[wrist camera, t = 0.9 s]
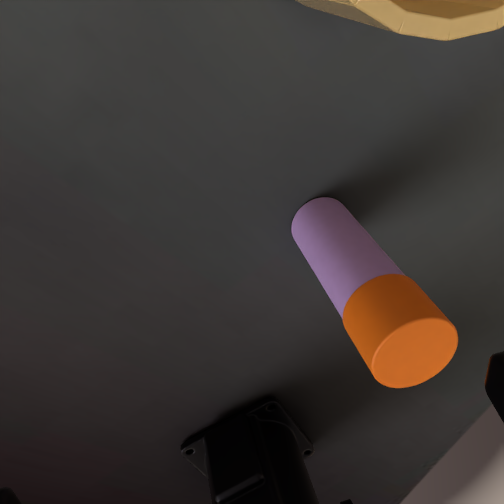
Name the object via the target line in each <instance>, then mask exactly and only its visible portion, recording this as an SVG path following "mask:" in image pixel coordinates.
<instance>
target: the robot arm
mask: <svg viewBox="0 0 504 504" xmlns="http://www.w3.org/2000/svg"><path fill="white" fill-rule="evenodd" d="M485 389H486V392H487V395H488V397H489V399H490V400H491V402H492V404H493V405H494V407H495V409H496V411H497V412H498V414H499V416H500V417H501V419H502V421H503V422H504V351H503V352H499V353H496V354H493V355H492V356H491V357H490V359H489V364H488V369H487V374H486V379H485ZM314 451H315V450H314V447H313V445H312V443H311V442H310V440H309V439H308V438H307V437H306V435H305V434H304V433H303V431H302V430H301V429H300V428H299V426H298V425H297V424H296V422H295V421H294V420H293V418H292V417H291V416H290V415H289V413H288V412H287V411H286V409H285V408H284V407H283V406H282V404H281V403H280V402H279V400H278V399H277V398H276V397H267V398H265V399H263V400H261V401H260V402H258V403H256V404H254V405H252V406H250V407H248V408H247V409H245V410H243V411H241V412H239V413H237V414H236V415H234V416H232V417H230V418H228V419H226V420H225V421H223V422H221V423H219V424H217V425H215V426H213V427H212V428H210V429H208V430H206V431H204V432H202V433H201V434H199V435H197V436H195V437H193V438H191V439H189V440H188V441H186V442H184V443H183V444H182V445H181V454H182V456H183V457H184V458H185V459H187V460H188V461H189V462H190V463H191V464H192V465H193V466H194V467H196V468H197V469H198V470H199V471H200V472H201V473H202V474H203V475H204V476H206V477H207V478H208V481H209V487H210V493H211V499H212V504H319V502H318V499H317V496H316V494H315V491H314V488H313V485H312V483H311V480H310V477H309V474H308V471H307V469H306V466H305V463H304V459H306V458H308V457H310V456H311V455H313V453H314ZM0 504H21V502H20V501H19V499H18V498H17V496H16V495H15V493H14V492H13V490H12V489H11V488H8V487H4V488H0ZM340 504H353V503H352V501H351V500H350V499H348V500H345V501H342V502H340Z"/></svg>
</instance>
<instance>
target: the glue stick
mask: <svg viewBox="0 0 504 504" xmlns="http://www.w3.org/2000/svg"><path fill="white" fill-rule="evenodd" d="M291 230H292V235H293V238H294V240H295V242H296V243H297V245H298V246H299V248H300V250H301V251H302V253H303V255H304V256H305V258H306V260H307V261H308V263H309V265H310V266H311V268H312V270H313V271H314V273H315V274H316V276H317V278H318V279H319V281H320V283H321V284H322V286H323V288H324V289H325V291H326V293H327V294H328V296H329V298H330V299H331V301H332V302H333V304H334V306H335V307H336V309H337V311H338V312H339V314H340V316H341V317H342V319H343V324H344V327H345V329H346V331H347V333H348V334H349V336H350V338H351V339H352V341H353V343H354V344H355V346H356V348H357V349H358V351H359V353H360V354H361V356H362V358H363V359H364V361H365V363H366V364H367V366H368V368H369V369H370V371H371V373H372V374H373V376H374V377H375V379H376V380H377V381H378V382H380V383H381V384H383V385H385V386H387V387H391V388H406V387H411V386H414V385H417V384H420V383H422V382H424V381H426V380H428V379H430V378H432V377H433V376H435V375H436V374H437V373H439V372H440V371H441V370H442V369H443V368H444V367H445V366H446V365H447V364H448V363H449V361H450V360H451V359H452V357H453V355H454V353H455V351H456V349H457V345H458V334H457V330H456V328H455V327H454V325H453V324H452V323H451V322H450V321H449V319H448V318H447V317H446V316H445V315H444V314H443V313H442V312H441V311H440V309H439V308H438V307H437V306H436V305H435V304H434V303H433V302H432V300H431V299H430V298H429V297H428V296H427V295H426V294H425V293H424V291H423V290H422V289H421V288H420V287H419V286H418V285H417V284H416V283H415V282H414V281H413V280H412V279H411V278H409V277H407V276H405V274H404V273H403V272H402V271H401V270H400V269H399V268H398V267H397V265H396V264H395V263H394V262H393V261H392V260H391V259H390V257H389V256H388V255H387V254H386V253H385V252H384V251H383V250H382V248H381V247H380V246H379V245H378V244H377V243H376V242H375V240H374V239H373V238H372V237H371V236H370V235H369V234H368V233H367V231H366V230H365V229H364V228H363V227H362V226H361V225H360V223H359V222H358V221H357V220H356V219H355V218H354V217H353V216H352V214H351V213H350V212H349V211H348V210H347V209H346V208H345V206H344V205H343V204H342V203H341V202H339V201H338V200H336V199H333V198H328V197H321V198H316V199H313V200H311V201H309V202H307V203H306V204H304V205H303V206H302V207H301V208H300V209H299V210H298V212H297V213H296V215H295V217H294V219H293V222H292V229H291Z"/></svg>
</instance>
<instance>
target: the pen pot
mask: <svg viewBox="0 0 504 504" xmlns="http://www.w3.org/2000/svg"><path fill="white" fill-rule="evenodd" d="M295 1H298V2H300V3H301V4H303V5H305V6H307V7H310V8H314V9H317V10H320V11H324V12H327V13H330V14H334V15H337V16H341V17H344V18H347V19H351V20H354V21H358V22H361V23H364V24H368V25H371V26H374V27H378V28H381V29H385V30H388V31H391V32H395V33H398V34H403V35H410V36H416V37H422V38H429V39H435V40H442V41H446V40H448V41H449V40H454V39H458V38H463V37H467V36H472V35H476V34H481V33H485V32H490V31H494V30H496V29H499V28H501V27H503V26H504V0H295Z"/></svg>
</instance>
